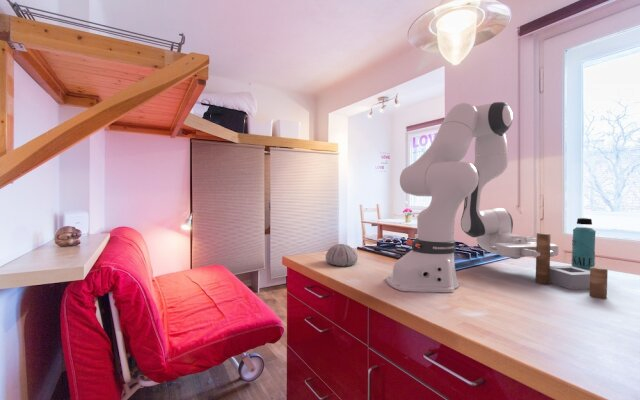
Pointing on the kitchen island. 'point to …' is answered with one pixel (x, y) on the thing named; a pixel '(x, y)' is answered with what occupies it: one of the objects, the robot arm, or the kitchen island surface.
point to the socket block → (570, 277)
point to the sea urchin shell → (341, 255)
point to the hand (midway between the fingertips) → (545, 254)
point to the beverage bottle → (583, 245)
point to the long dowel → (543, 258)
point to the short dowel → (598, 282)
